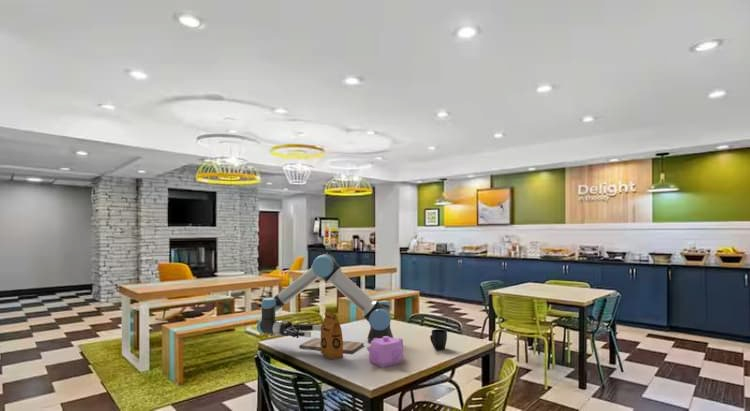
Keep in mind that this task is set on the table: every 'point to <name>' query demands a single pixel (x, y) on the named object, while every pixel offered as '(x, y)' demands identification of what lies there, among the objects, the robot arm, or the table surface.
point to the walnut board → (347, 345)
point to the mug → (439, 339)
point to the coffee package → (331, 337)
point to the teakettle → (386, 351)
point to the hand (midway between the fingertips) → (317, 331)
